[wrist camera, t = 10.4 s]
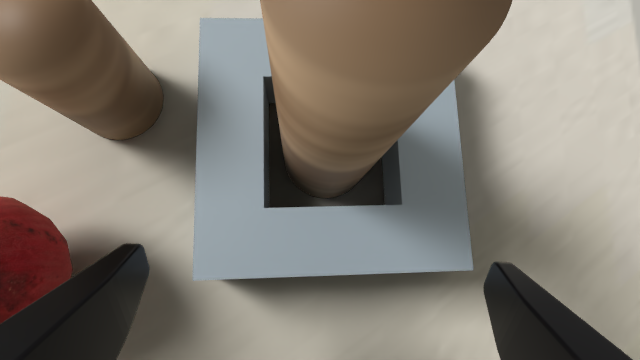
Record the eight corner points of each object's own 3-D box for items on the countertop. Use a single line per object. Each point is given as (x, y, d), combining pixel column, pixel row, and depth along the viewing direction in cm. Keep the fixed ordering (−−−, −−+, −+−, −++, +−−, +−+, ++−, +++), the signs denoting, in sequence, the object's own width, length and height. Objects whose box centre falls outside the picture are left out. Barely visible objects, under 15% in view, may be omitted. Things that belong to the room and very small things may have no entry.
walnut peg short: (161, 139, 18) (78, 73, 11) (76, 140, 18) (-63, 73, 11) (164, 62, 19) (88, -44, 12) (82, 62, 19) (-44, -46, 12)
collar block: (444, 266, 18) (473, 270, 15) (210, 274, 17) (192, 280, 14) (425, 54, 20) (448, 20, 17) (215, 53, 19) (200, 18, 16)
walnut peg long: (367, 196, 18) (531, 80, 5) (285, 199, 18) (254, 81, 5) (363, 118, 19) (500, -148, 6) (283, 119, 19) (254, -157, 6)
